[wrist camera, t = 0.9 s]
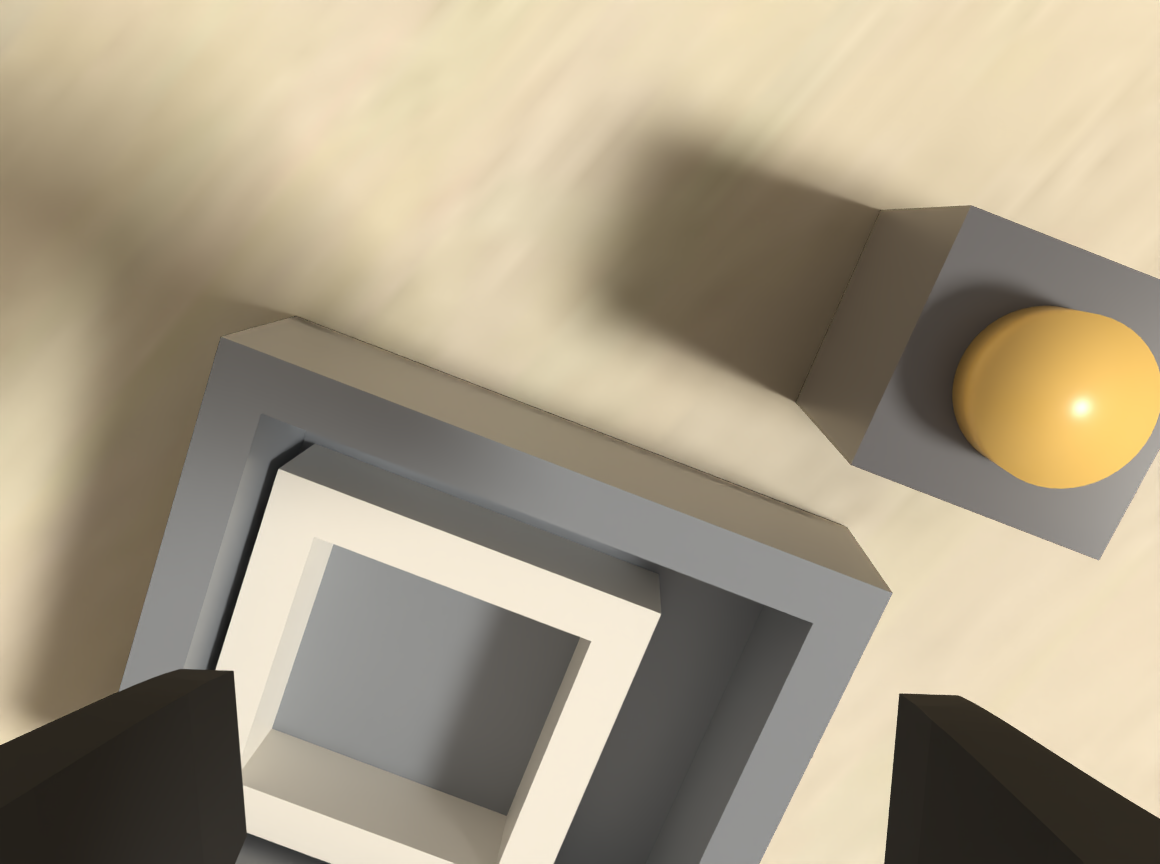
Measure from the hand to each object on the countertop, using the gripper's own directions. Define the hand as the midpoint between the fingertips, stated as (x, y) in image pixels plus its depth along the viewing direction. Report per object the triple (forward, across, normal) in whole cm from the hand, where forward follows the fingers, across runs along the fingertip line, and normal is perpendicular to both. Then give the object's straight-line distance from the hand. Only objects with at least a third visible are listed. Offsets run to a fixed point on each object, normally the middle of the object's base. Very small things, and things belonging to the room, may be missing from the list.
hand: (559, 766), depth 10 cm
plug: (+10, -6, -3) cm, 12 cm away
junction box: (+10, +2, +3) cm, 10 cm away
